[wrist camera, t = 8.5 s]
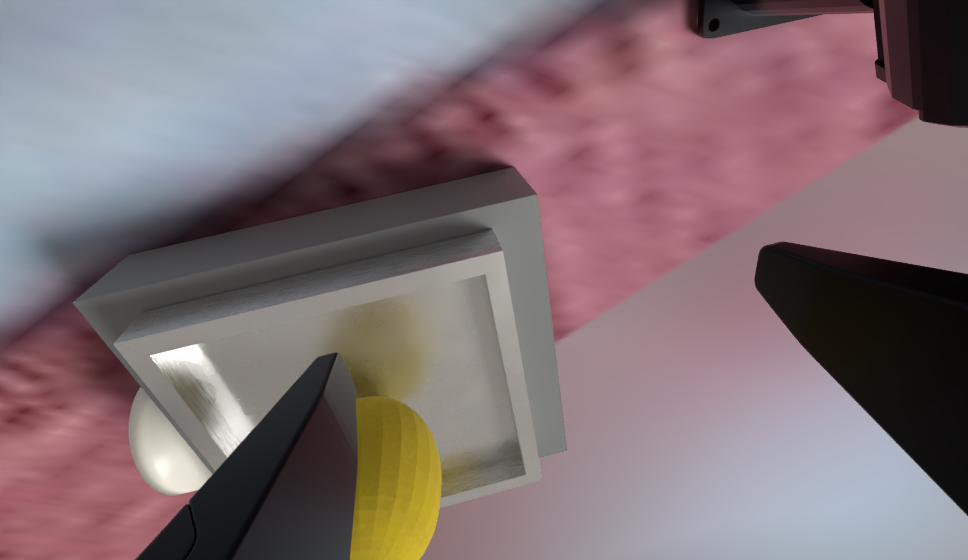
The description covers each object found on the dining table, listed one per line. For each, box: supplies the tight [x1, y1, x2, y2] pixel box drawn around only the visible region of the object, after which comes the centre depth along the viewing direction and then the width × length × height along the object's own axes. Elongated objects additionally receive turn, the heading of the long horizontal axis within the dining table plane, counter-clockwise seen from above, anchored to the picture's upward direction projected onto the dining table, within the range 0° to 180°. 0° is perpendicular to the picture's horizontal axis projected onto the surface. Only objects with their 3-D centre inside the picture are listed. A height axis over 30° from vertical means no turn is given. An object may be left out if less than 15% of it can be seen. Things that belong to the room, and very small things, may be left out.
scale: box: [73, 167, 567, 496], centre depth 22 cm, size 19×16×6 cm
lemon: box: [350, 396, 442, 560], centre depth 17 cm, size 6×6×8 cm
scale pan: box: [113, 229, 542, 508], centre depth 20 cm, size 14×14×2 cm
